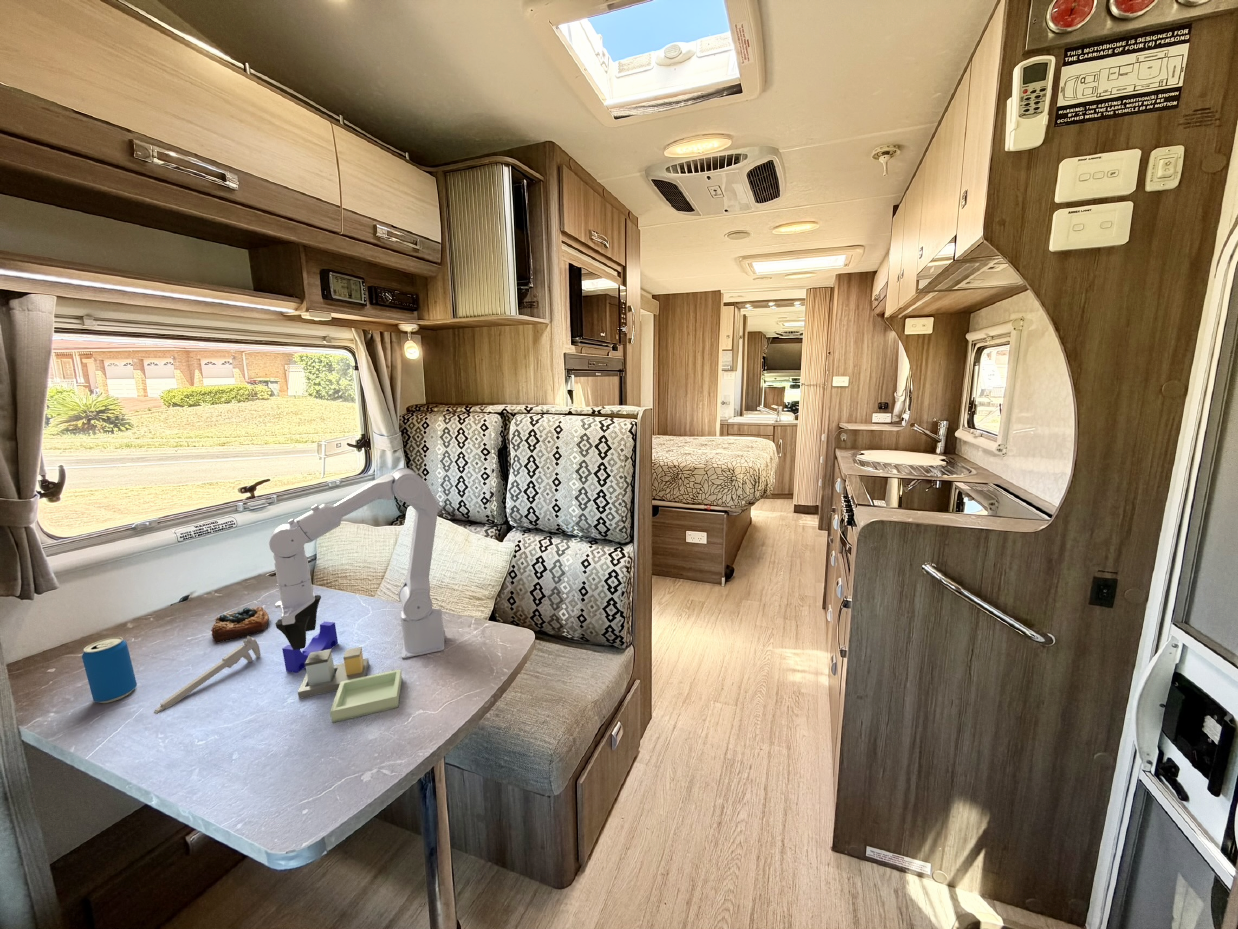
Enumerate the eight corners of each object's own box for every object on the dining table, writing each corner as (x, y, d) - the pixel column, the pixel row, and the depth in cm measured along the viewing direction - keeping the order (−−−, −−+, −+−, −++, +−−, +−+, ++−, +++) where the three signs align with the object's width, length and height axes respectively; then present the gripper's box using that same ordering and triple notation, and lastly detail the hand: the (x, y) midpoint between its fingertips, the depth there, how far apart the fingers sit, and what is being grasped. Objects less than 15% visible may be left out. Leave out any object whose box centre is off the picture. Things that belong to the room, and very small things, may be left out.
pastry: (216, 628, 128) (212, 608, 127) (271, 615, 134) (267, 596, 133) (210, 647, 119) (205, 625, 118) (268, 632, 125) (265, 611, 124)
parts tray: (402, 679, 103) (400, 669, 103) (397, 707, 94) (396, 696, 94) (342, 692, 100) (340, 681, 99) (332, 723, 91) (330, 711, 90)
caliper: (258, 656, 114) (253, 633, 113) (261, 657, 114) (256, 633, 113) (154, 713, 95) (147, 686, 94) (157, 714, 95) (150, 687, 94)
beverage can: (105, 690, 102) (92, 640, 100) (143, 682, 105) (132, 633, 103) (86, 709, 97) (72, 656, 94) (128, 700, 99) (115, 648, 97)
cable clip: (322, 642, 119) (319, 621, 118) (338, 644, 118) (334, 622, 117) (280, 671, 108) (276, 648, 107) (297, 673, 107) (293, 649, 106)
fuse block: (368, 664, 109) (365, 640, 108) (363, 684, 102) (359, 660, 101) (309, 676, 105) (305, 652, 104) (298, 698, 98) (294, 673, 97)
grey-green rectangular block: (335, 675, 105) (331, 648, 104) (331, 686, 102) (327, 659, 100) (314, 680, 104) (310, 652, 103) (309, 691, 100) (304, 663, 99)
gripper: (283, 570, 105) (293, 626, 108) (259, 598, 92) (271, 661, 94) (320, 565, 107) (328, 620, 110) (300, 592, 94) (311, 654, 97)
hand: (304, 639), depth 102 cm, fingers open, 7 cm apart
